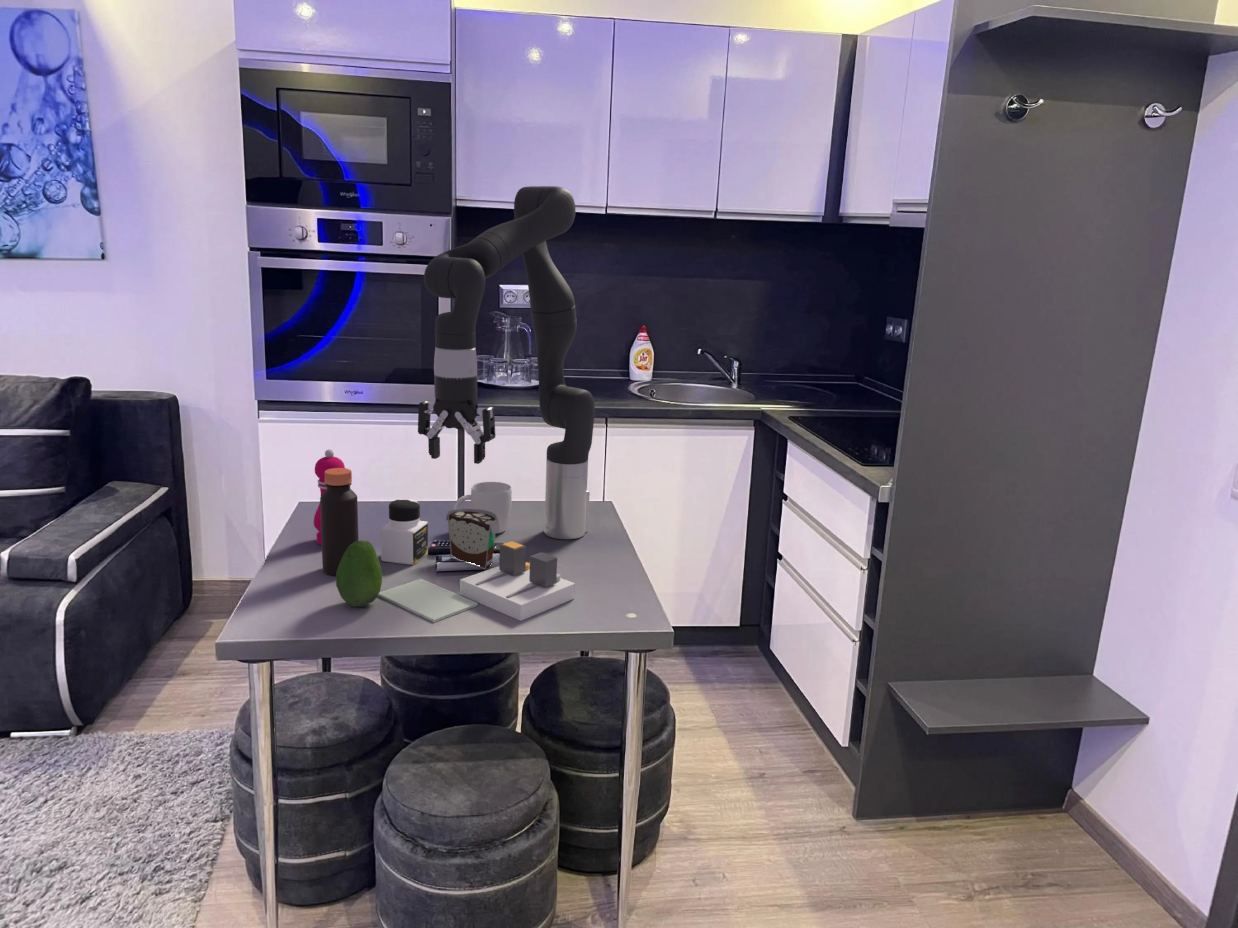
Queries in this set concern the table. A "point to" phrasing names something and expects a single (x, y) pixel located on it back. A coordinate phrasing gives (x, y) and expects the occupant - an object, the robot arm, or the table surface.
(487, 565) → the food container
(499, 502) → the mug
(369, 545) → the avocado
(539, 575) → the toggle
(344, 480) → the vinegar
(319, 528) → the pepper mill
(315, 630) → the table surface
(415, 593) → the pad
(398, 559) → the medicine bottle
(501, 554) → the toggle
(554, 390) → the robot arm
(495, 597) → the panel
